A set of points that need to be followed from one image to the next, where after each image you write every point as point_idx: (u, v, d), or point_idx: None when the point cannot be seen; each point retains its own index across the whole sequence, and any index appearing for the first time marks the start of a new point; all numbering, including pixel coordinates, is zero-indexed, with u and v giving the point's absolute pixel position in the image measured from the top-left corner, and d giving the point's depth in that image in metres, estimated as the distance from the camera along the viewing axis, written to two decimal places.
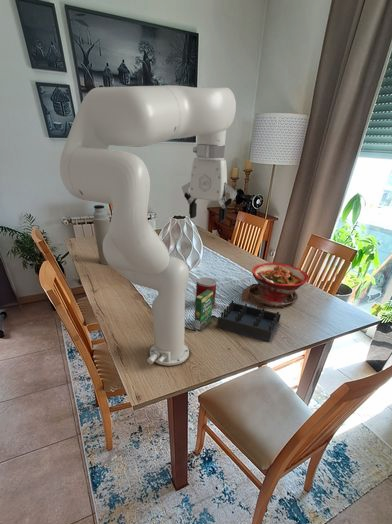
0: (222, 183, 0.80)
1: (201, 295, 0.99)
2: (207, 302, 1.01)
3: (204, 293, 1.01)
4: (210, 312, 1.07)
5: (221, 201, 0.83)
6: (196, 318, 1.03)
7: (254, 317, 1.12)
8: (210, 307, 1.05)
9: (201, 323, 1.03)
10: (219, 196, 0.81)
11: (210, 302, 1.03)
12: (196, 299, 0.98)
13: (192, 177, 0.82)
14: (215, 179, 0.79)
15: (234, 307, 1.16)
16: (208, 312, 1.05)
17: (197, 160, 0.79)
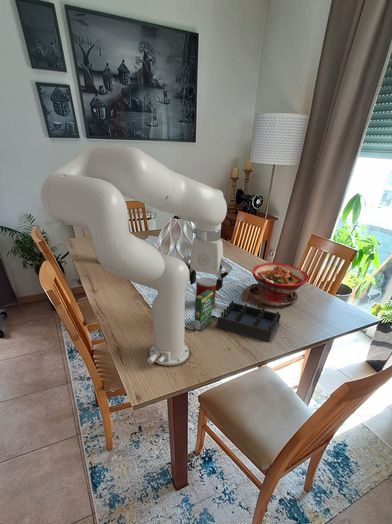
0: (219, 260, 0.90)
1: (201, 295, 0.99)
2: (207, 302, 1.01)
3: (204, 293, 1.01)
4: (210, 312, 1.07)
5: (218, 274, 0.93)
6: (196, 318, 1.03)
7: (254, 317, 1.12)
8: (210, 307, 1.05)
9: (201, 323, 1.03)
10: (216, 271, 0.91)
11: (210, 302, 1.03)
12: (196, 299, 0.98)
13: (192, 253, 0.92)
14: (212, 257, 0.89)
15: (234, 307, 1.16)
16: (208, 312, 1.05)
17: (196, 241, 0.89)
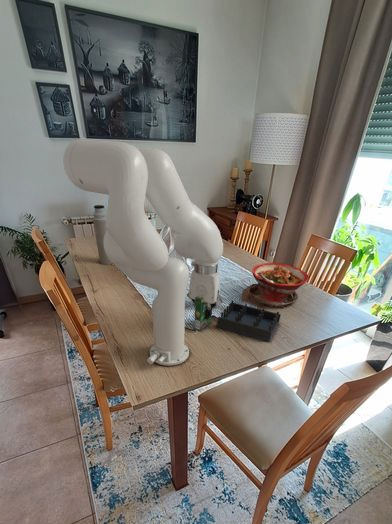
0: (216, 292, 0.96)
1: None
2: None
3: None
4: None
5: (209, 305, 1.00)
6: (196, 318, 1.03)
7: (254, 317, 1.12)
8: None
9: (201, 322, 1.03)
10: (213, 301, 0.97)
11: None
12: (196, 299, 0.98)
13: (191, 284, 0.98)
14: (210, 289, 0.95)
15: (234, 307, 1.16)
16: None
17: (195, 273, 0.95)
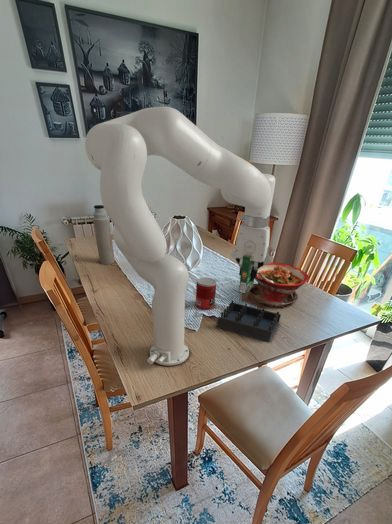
0: (266, 248, 0.88)
1: None
2: (253, 261, 0.94)
3: None
4: None
5: (256, 264, 0.93)
6: (242, 280, 0.95)
7: (254, 317, 1.12)
8: None
9: (247, 285, 0.96)
10: (262, 258, 0.90)
11: None
12: (244, 258, 0.91)
13: (238, 241, 0.90)
14: (260, 245, 0.88)
15: (234, 307, 1.16)
16: None
17: (244, 228, 0.87)
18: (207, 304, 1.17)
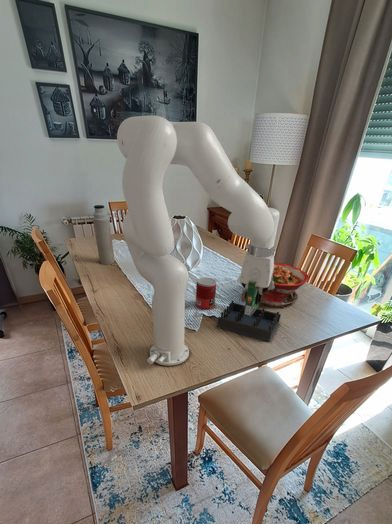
0: (270, 275, 0.94)
1: None
2: None
3: None
4: None
5: (261, 289, 0.98)
6: (247, 303, 1.01)
7: (254, 317, 1.12)
8: None
9: (252, 308, 1.01)
10: (267, 285, 0.95)
11: None
12: (249, 283, 0.96)
13: (243, 268, 0.96)
14: (264, 272, 0.93)
15: (234, 307, 1.16)
16: None
17: (249, 256, 0.93)
18: (207, 304, 1.17)
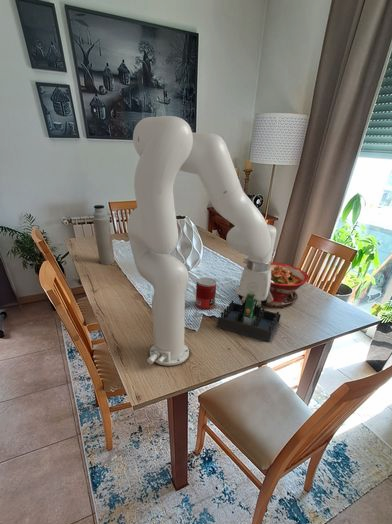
0: (267, 289, 0.97)
1: None
2: None
3: None
4: None
5: (260, 302, 1.01)
6: (245, 315, 1.03)
7: None
8: (257, 304, 1.06)
9: (250, 319, 1.04)
10: (264, 298, 0.98)
11: None
12: (248, 296, 0.99)
13: (241, 281, 0.99)
14: (262, 286, 0.96)
15: (234, 307, 1.16)
16: (255, 309, 1.06)
17: (247, 270, 0.96)
18: (207, 304, 1.17)
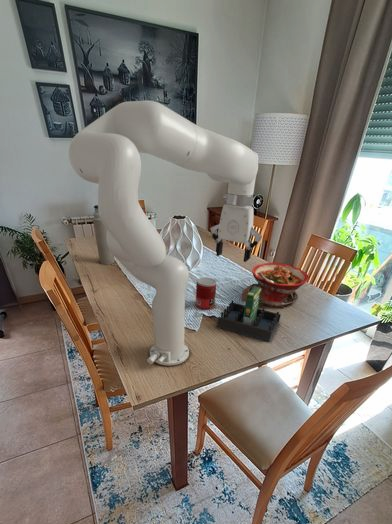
0: (249, 228, 0.87)
1: (252, 292, 1.00)
2: (256, 298, 1.02)
3: (253, 290, 1.02)
4: None
5: (247, 243, 0.90)
6: (245, 315, 1.03)
7: None
8: (257, 304, 1.06)
9: (250, 319, 1.04)
10: (246, 239, 0.88)
11: (258, 299, 1.04)
12: (248, 296, 0.99)
13: (221, 221, 0.89)
14: (243, 224, 0.86)
15: (234, 307, 1.16)
16: (255, 309, 1.06)
17: (227, 207, 0.86)
18: (207, 304, 1.17)
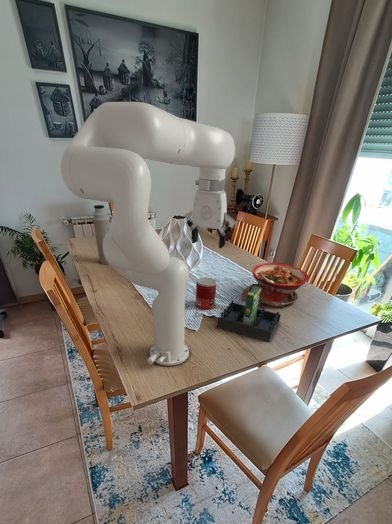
0: (222, 213, 0.86)
1: (252, 292, 1.00)
2: (256, 298, 1.02)
3: (253, 290, 1.02)
4: None
5: (221, 229, 0.90)
6: (245, 315, 1.03)
7: None
8: (257, 304, 1.06)
9: (250, 319, 1.04)
10: (219, 225, 0.88)
11: (258, 299, 1.04)
12: (248, 296, 0.99)
13: (194, 207, 0.88)
14: (216, 210, 0.86)
15: (234, 307, 1.16)
16: (255, 309, 1.06)
17: (199, 192, 0.86)
18: (207, 304, 1.17)
